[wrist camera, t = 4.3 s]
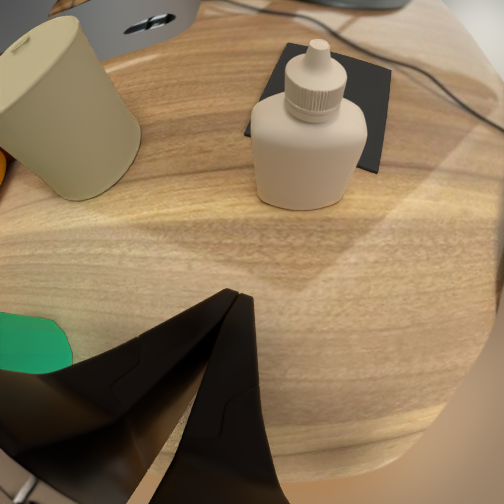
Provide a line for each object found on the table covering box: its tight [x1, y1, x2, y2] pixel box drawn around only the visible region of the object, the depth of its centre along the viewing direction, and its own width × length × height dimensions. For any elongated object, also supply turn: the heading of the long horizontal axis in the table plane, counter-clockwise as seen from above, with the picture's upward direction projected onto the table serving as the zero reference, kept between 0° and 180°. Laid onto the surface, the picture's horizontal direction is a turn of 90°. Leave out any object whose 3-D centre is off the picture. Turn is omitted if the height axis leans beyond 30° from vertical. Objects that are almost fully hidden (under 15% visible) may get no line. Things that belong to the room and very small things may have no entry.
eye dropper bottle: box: [251, 39, 367, 210], centre depth 15 cm, size 4×6×12 cm
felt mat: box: [244, 43, 391, 174], centre depth 22 cm, size 12×10×1 cm
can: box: [0, 16, 141, 201], centre depth 17 cm, size 9×9×12 cm
